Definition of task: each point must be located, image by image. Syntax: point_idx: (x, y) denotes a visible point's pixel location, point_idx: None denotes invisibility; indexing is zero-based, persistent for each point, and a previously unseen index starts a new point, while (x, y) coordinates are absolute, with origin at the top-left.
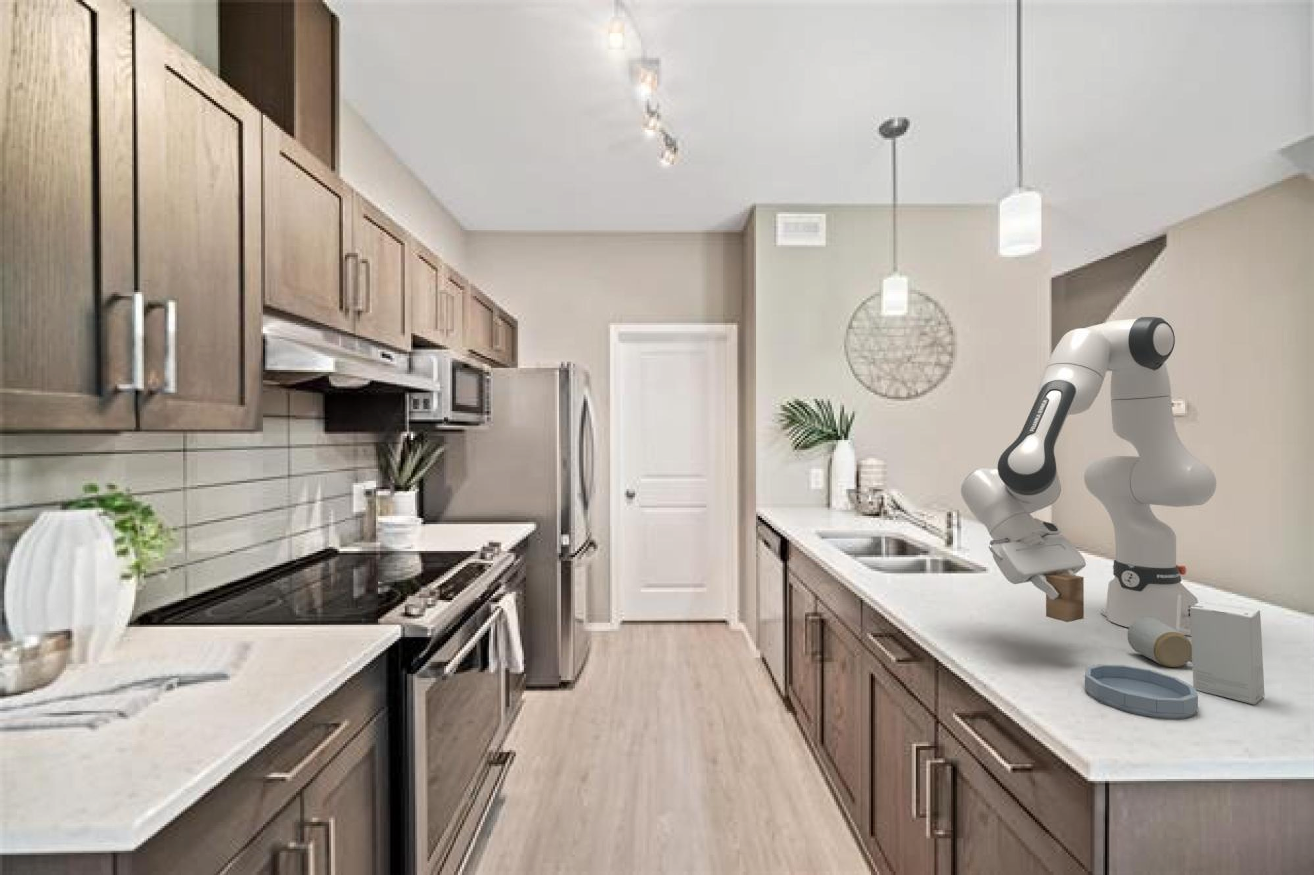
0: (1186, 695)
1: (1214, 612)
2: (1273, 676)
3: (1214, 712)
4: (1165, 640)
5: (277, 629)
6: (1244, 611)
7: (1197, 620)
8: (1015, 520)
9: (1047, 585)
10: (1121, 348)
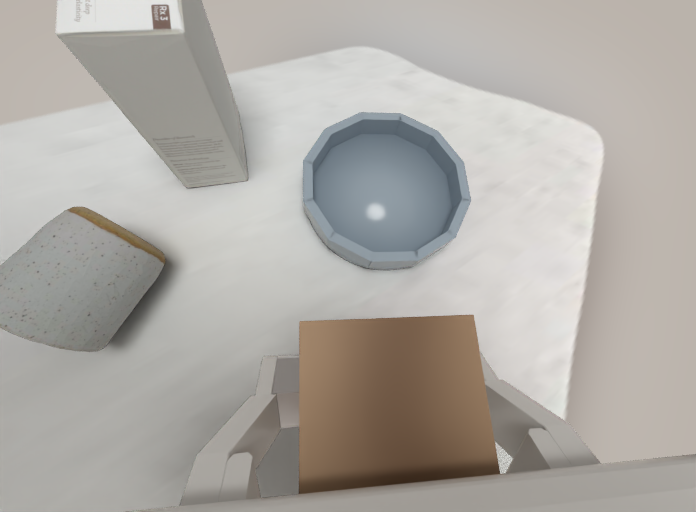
0: (328, 149)
1: None
2: (27, 152)
3: (323, 128)
4: (129, 232)
5: None
6: None
7: (199, 54)
8: None
9: (519, 395)
10: None
